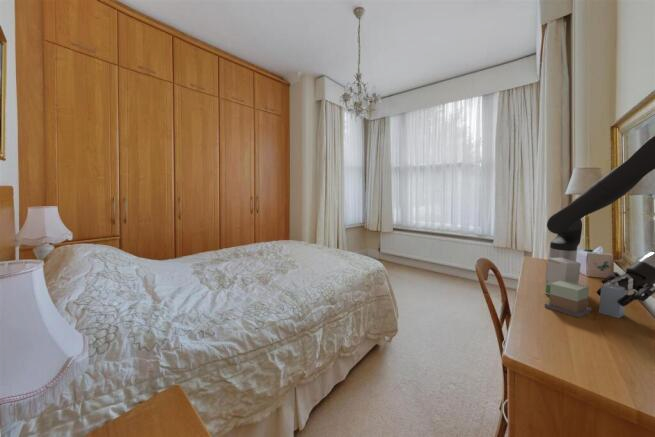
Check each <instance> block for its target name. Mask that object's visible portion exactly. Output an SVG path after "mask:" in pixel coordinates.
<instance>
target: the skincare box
mask: <svg viewBox="0 0 655 437" xmlns="http://www.w3.org/2000/svg"><path fill="white" fill-rule="evenodd" d="M547 263H548V267H547V266H546V268H547V277H546V276H545V286H544V287H545V288H544V294H545V295H548V296H550V287H551V283H554V282H557V281H560V280H563V281H567V282H572V283H576V284H579V281H580V273H581V272H580V271H581V265H582V263H581V262H577V261H576V262H575V261H572V260H568V259H564V258H549V257H548V258H547Z"/></svg>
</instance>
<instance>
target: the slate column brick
mask: <svg viewBox="0 0 655 437" xmlns="http://www.w3.org/2000/svg"><path fill="white" fill-rule="evenodd" d="M600 288H601V294H600V296H599V306H598V314H602V315H606V316H609V317H613V318H616V319H620V318H622V317H624V316H625V314H626V313H625V311H626V306H621V305H620V304H619V303H618V302H617V301H618V300H619V299H621V298H622V297H623V296H625V295H626V294H628V290H627V289H626V288H625V287H622V286H618V285H613V284H608V283H606V284H602V285H601V286H600Z"/></svg>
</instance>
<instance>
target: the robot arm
mask: <svg viewBox="0 0 655 437" xmlns="http://www.w3.org/2000/svg"><path fill="white" fill-rule="evenodd" d="M653 170H655V134H653V135H652V136H650V137H649V138H647V140H646V141H645V142H644V143H643V144H642V145H640V147H639V148H638V149H637V150H636V151H635V152H634V153H632V154H631V155H630V156H629V157H628V158H627V159H626V160H624V162H623V163H620V165H618V166H616V167H615V168H613V169H611V170H610V171H608V173H606V174H605V175H604V176H603V177H601V178H600V179H598V180H597V181H596V182H595V183H593V184H592V185H590V187H589V188H587V189H586V190H585V191H584V192H583V193H582V194H580V195H579V196H577V197H576V198H575V199H574V200H573V201H572V202H571V203H568V205H566V206H565V207H563V208H562V209H560V210H558V211H557V212H556V213H554V214H552V215H551V216H550V217H549V218H548V220H547V223H546V227H547V230H548V231H549V232H550V233H552V234H556V235H557V236H556V237H555V238H554V239H553V240H552V241H550V245H549V257H548V258H564V259H568V260H572V261H575V262H577V254H578V247H579V246H580V243H581V239H582V232H583V222H582V221H583V220H582V219H583V218H584V217H586V216H588V215H590V214H593V213H595V212H597V211H600V210H602V209H604V208H606V207H608V206H610V205H612V204H614V203H615V202H616V201H618V200H620V199H621V198H622V197H624V196H625V195H626V194H628V192H630V191H631V190H632V189H633V188H635V187H636V186H637V184H638V183H639V182H640V181H641V180H642V179H643V178H644V177H645V176H646V175H648V174H649V173H651V172H652V171H653ZM547 267H548V262H547V263H546V270H545V278H546V277H547ZM600 282H601V284H602V285H604V284H606V283H608V284H613V285H618V286H622V287H625V288H626V289H627V293H626V295H625V296H623V297H622V298H621V299H619V300H618V301H617V302H618V303H619V304H620V305H621V306H625V307H626V306H628V305H629V304H630V303H633V301H637V300H639V301H641V302H646V300H647V299H649V298H650V297H651V296H652V295H654V294H655V248H654V249H652V250H650V252H648V253H646V254H645V255H643V256H641V257H640V258H638V259H637V260H636V261H635V262H634V263H632V264H631V265H629V266H628V267H627V268H626V269H625V273H623V274H619V273H618V272H617V271H614V272H612V273H611V274H609V275H607V277H605V278H604V279H602V280H600ZM595 293H596V294H597V295H598V296H599V297H600V294H601V287H600V288H598V290H596V292H595Z"/></svg>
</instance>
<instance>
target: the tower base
mask: <svg viewBox="0 0 655 437" xmlns="http://www.w3.org/2000/svg"><path fill="white" fill-rule="evenodd" d="M588 299H589V286H588V285H584V284H580V283H578V284H576V283H572V282H567V281H563V280H560V281H557V282H554V283H551V287H550V295H549V301H548V302H545V303H544V308H547V309H550V310H553V311H556V312H559V313H563V314H565V315H569V316H571V317H572V316H573V317H574V318H579V319H580V318H582V317H583V316H586V315H587V314H589V313H591V312H592V311H593V310H592V309H593V308H592V307H589V306H588Z"/></svg>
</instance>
